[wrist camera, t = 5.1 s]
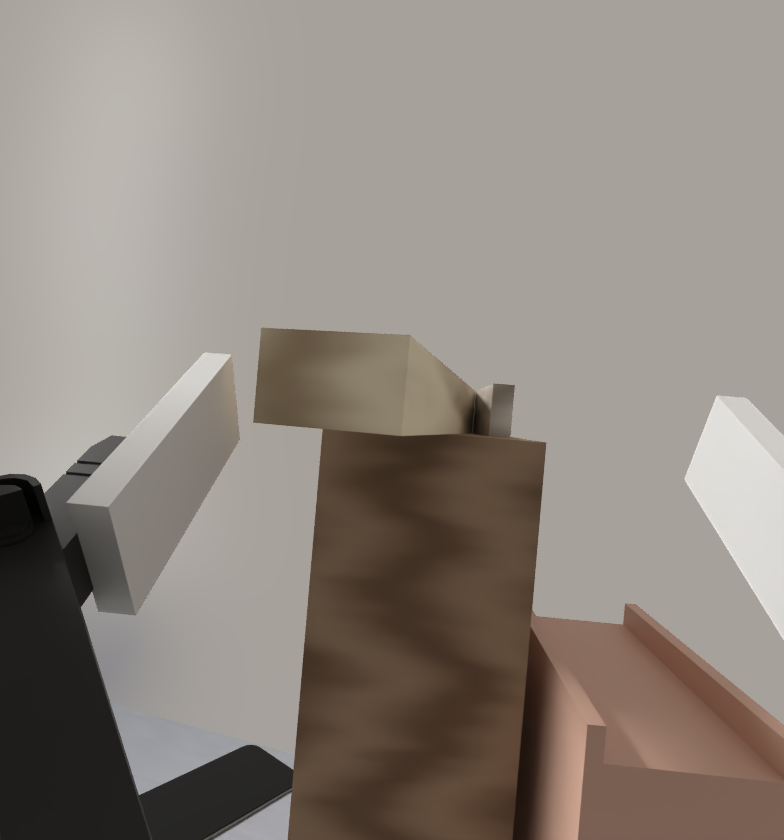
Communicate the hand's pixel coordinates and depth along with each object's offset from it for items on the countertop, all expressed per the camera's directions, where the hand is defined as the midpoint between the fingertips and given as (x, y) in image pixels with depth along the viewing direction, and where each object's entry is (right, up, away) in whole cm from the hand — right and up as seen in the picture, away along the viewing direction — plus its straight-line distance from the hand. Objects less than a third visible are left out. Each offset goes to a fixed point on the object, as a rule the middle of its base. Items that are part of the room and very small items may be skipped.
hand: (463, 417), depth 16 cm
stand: (-3, -31, +14) cm, 34 cm away
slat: (-1, 0, +9) cm, 9 cm away
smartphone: (-17, -30, +28) cm, 44 cm away
